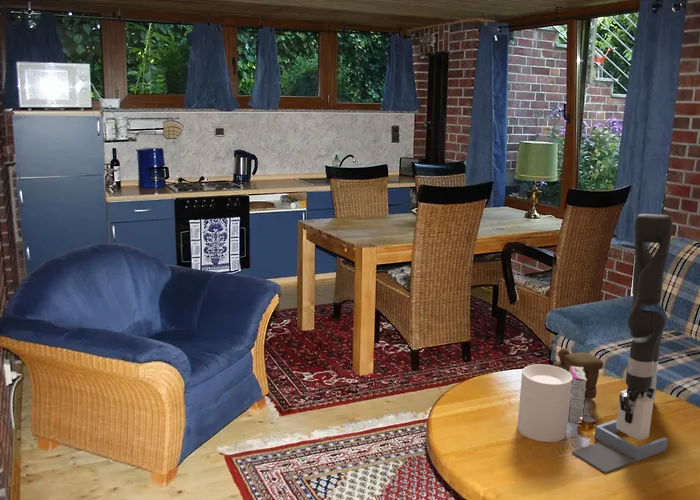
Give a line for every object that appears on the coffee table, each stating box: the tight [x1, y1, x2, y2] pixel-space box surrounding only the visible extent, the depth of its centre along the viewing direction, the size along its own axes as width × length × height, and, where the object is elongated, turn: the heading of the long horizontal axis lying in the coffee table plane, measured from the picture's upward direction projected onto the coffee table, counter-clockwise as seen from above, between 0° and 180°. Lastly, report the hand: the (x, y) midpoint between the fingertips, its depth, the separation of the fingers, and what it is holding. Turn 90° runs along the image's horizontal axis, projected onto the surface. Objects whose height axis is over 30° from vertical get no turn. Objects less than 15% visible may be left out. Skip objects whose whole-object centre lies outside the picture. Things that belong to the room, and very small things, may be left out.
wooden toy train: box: [552, 347, 604, 401], centre depth 254 cm, size 20×11×17 cm, turn 22°
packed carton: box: [616, 389, 655, 442], centre depth 219 cm, size 4×9×13 cm, turn 30°
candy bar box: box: [568, 366, 587, 424], centre depth 237 cm, size 11×5×16 cm, turn 168°
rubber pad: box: [571, 441, 636, 474], centre depth 213 cm, size 13×13×1 cm
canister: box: [517, 363, 572, 443], centre depth 227 cm, size 16×16×20 cm
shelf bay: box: [594, 419, 669, 462], centre depth 221 cm, size 14×16×4 cm
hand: (633, 420), depth 220 cm, fingers closed on packed carton, 4 cm apart
